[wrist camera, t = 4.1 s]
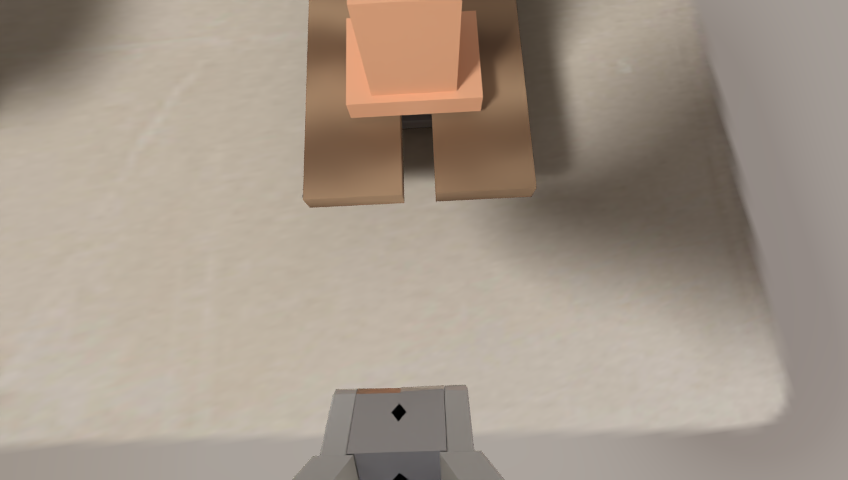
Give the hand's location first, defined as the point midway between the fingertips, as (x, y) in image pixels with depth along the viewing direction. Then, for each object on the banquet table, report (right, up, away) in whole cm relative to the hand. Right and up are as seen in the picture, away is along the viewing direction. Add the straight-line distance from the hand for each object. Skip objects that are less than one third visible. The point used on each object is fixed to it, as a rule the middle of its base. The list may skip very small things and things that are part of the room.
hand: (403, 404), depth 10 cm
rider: (0, +14, +19) cm, 24 cm away
